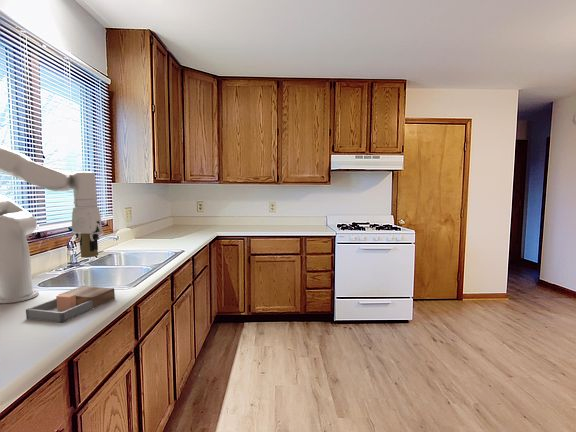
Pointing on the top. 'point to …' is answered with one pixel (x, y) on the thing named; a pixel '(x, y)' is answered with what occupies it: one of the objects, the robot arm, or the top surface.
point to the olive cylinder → (87, 246)
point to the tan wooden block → (92, 295)
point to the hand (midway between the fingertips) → (89, 250)
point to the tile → (65, 302)
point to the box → (50, 312)
